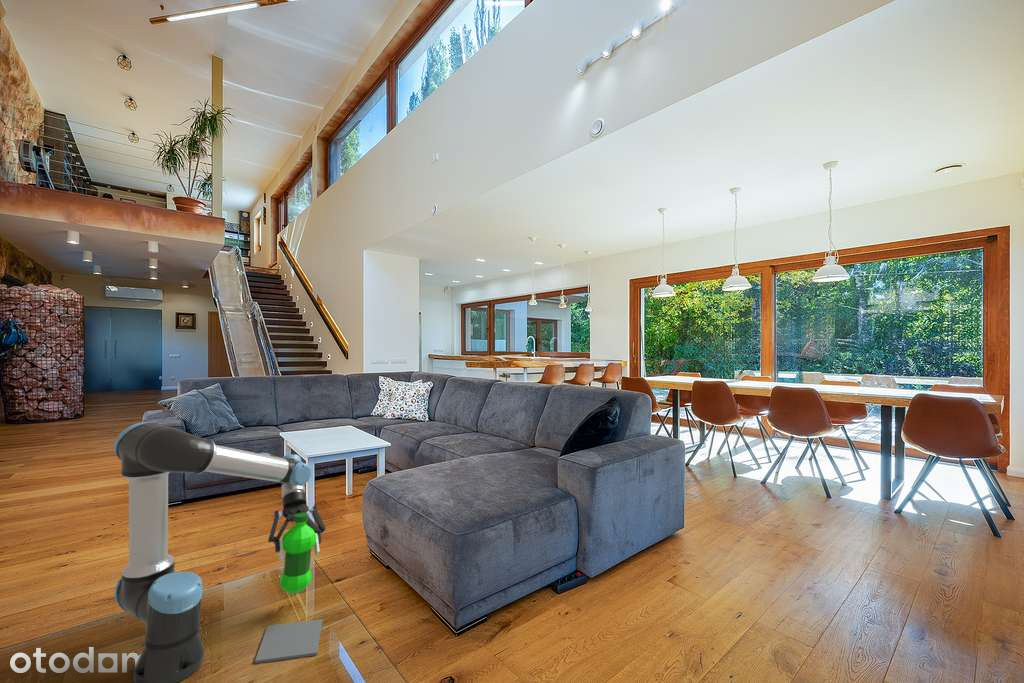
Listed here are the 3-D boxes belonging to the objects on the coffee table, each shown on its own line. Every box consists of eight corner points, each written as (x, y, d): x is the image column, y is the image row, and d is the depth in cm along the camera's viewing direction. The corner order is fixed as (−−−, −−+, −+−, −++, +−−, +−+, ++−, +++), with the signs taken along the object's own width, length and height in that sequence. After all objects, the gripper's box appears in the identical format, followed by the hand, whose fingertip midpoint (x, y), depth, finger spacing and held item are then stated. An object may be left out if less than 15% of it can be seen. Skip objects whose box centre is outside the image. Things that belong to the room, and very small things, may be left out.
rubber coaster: (254, 663, 122) (254, 660, 122) (267, 628, 137) (267, 625, 137) (316, 655, 127) (317, 652, 127) (322, 621, 142) (322, 619, 142)
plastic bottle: (309, 579, 154) (315, 507, 155) (313, 594, 145) (319, 518, 146) (277, 585, 149) (283, 511, 150) (279, 601, 140) (286, 522, 141)
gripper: (324, 496, 167) (332, 554, 154) (255, 505, 153) (258, 570, 140) (329, 486, 163) (338, 544, 150) (259, 494, 149) (263, 560, 136)
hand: (300, 557), depth 145 cm, fingers closed on plastic bottle, 10 cm apart
